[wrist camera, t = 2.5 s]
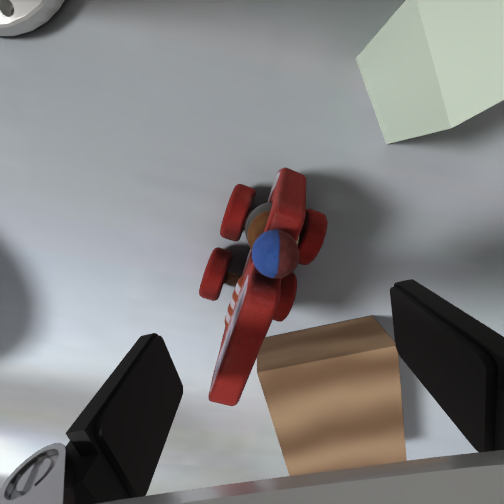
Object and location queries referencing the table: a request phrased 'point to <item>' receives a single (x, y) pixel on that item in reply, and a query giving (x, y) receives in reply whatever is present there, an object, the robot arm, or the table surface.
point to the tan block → (334, 396)
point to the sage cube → (435, 65)
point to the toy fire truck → (259, 273)
